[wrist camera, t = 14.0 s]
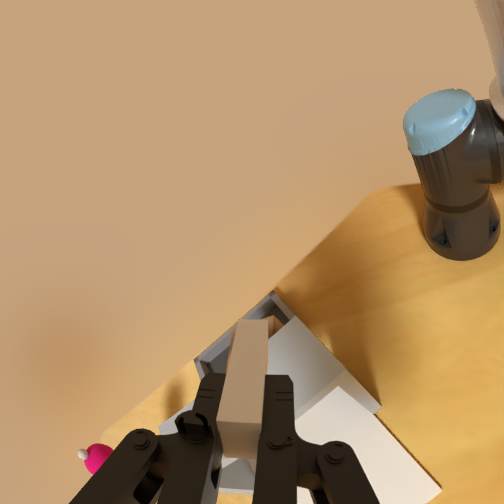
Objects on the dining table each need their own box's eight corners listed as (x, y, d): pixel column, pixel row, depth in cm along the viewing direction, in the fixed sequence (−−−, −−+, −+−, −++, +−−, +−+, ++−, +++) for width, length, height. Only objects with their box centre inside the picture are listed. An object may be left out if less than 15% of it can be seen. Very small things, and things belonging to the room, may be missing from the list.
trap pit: (305, 326, 48) (298, 319, 47) (215, 400, 48) (206, 396, 46) (279, 297, 57) (272, 290, 56) (201, 364, 56) (193, 359, 55)
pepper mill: (174, 457, 42) (81, 423, 32) (196, 478, 37) (93, 449, 27) (158, 483, 39) (65, 454, 29) (178, 504, 34) (75, 481, 23)
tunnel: (452, 481, 18) (460, 492, 9) (303, 572, 17) (223, 602, 9) (339, 361, 40) (289, 307, 31) (232, 443, 39) (156, 417, 31)
